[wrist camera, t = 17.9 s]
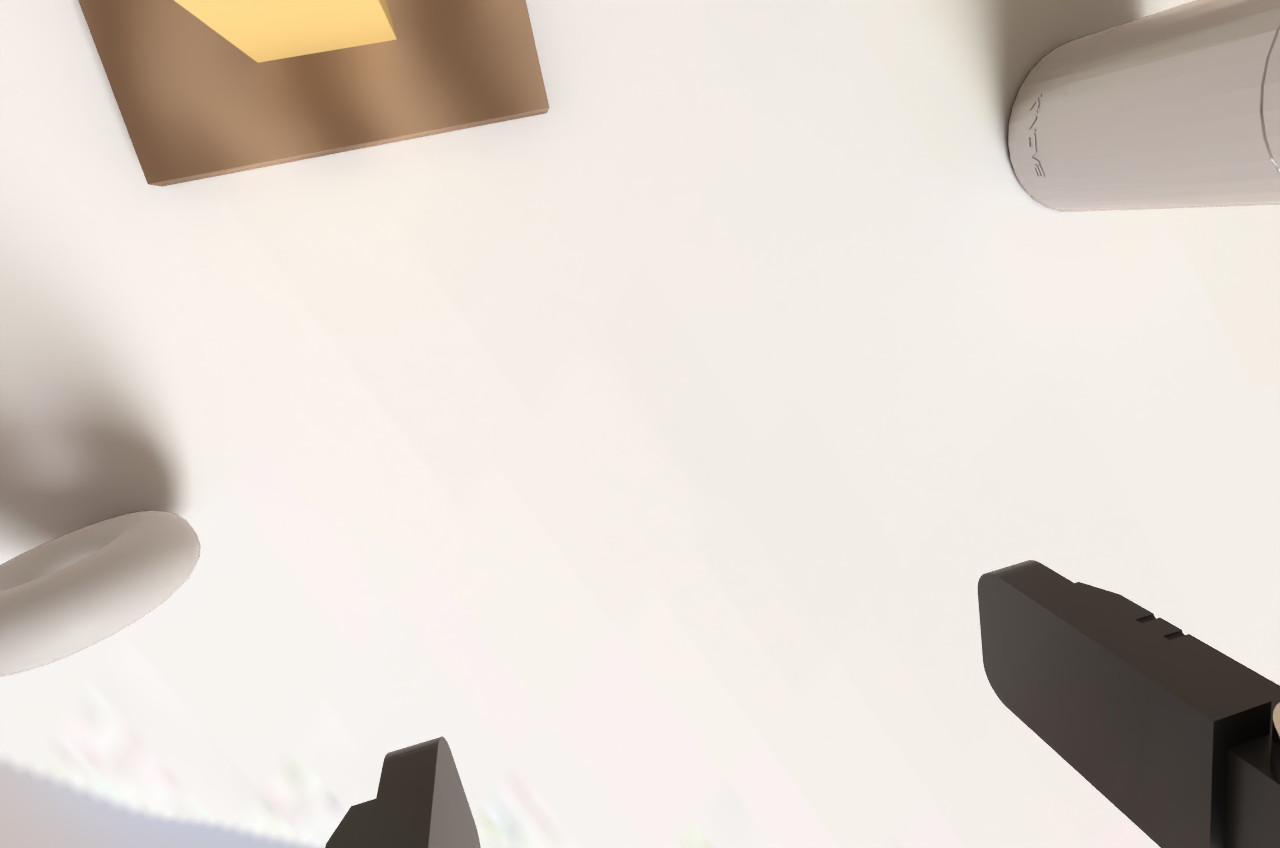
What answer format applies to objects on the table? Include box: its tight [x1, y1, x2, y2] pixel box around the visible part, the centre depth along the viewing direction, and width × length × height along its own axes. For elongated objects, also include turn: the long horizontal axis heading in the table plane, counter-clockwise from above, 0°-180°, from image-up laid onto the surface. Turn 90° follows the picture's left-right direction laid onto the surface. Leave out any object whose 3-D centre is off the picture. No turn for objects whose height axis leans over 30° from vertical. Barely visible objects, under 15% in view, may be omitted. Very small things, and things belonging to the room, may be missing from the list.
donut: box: [0, 511, 200, 677], centre depth 32 cm, size 10×4×10 cm, turn 106°
